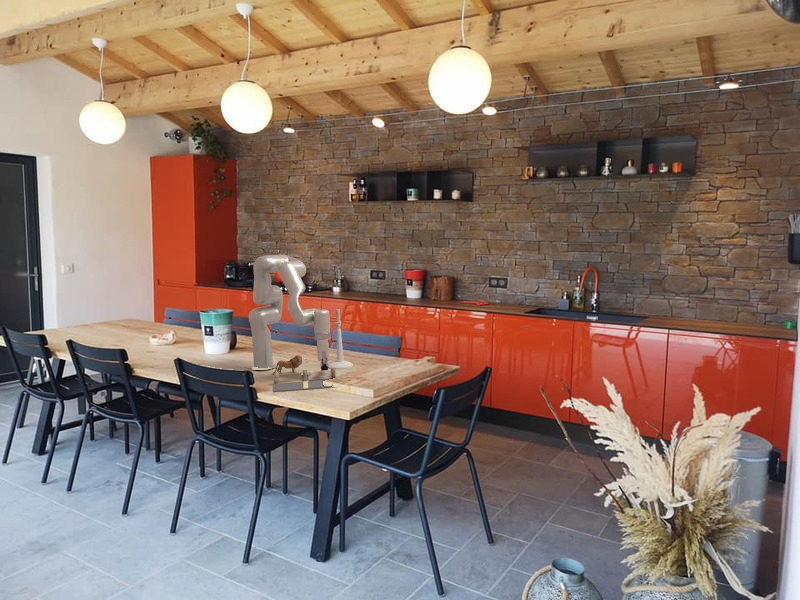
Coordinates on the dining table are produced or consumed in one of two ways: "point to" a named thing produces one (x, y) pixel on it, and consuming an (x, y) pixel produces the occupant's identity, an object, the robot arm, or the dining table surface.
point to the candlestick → (339, 348)
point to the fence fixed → (290, 377)
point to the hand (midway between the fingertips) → (324, 374)
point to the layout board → (300, 385)
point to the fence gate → (322, 374)
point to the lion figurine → (289, 364)
